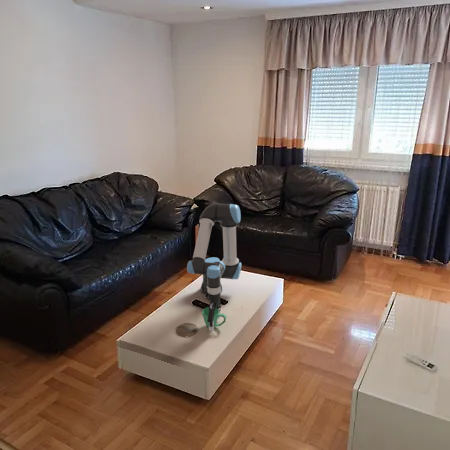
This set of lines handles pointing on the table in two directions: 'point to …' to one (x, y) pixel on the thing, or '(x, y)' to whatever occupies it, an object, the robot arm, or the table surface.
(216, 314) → the mug
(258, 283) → the table surface
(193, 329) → the plate
